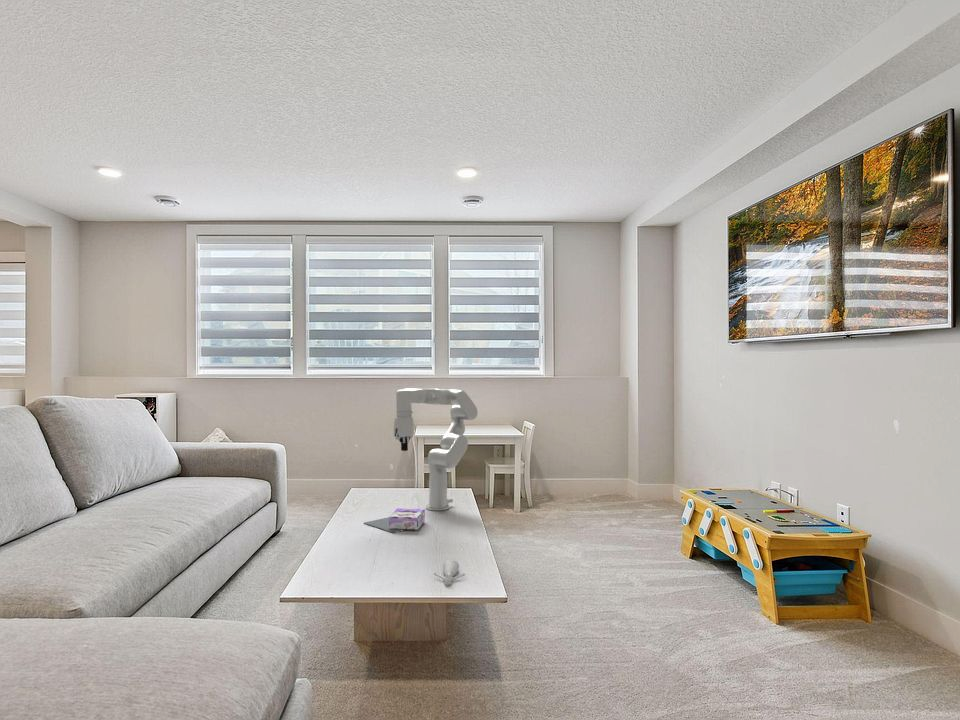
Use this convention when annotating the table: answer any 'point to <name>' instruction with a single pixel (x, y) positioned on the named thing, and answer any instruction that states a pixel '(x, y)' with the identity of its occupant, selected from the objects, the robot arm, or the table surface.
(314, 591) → the table surface
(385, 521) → the mat
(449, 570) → the grey legged figure
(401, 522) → the candy box
